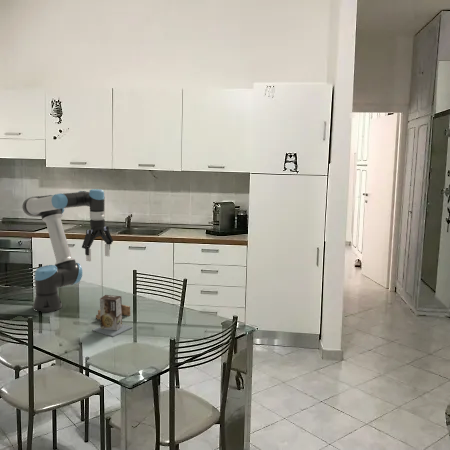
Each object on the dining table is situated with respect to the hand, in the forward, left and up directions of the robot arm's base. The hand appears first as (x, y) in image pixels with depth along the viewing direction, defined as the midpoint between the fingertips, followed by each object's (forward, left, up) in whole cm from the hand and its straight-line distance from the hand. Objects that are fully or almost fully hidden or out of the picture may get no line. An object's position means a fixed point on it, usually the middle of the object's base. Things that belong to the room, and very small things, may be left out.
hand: (98, 258), depth 270 cm
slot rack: (+9, +2, -32) cm, 33 cm away
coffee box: (+19, -11, -31) cm, 38 cm away
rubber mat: (+20, -11, -32) cm, 39 cm away
